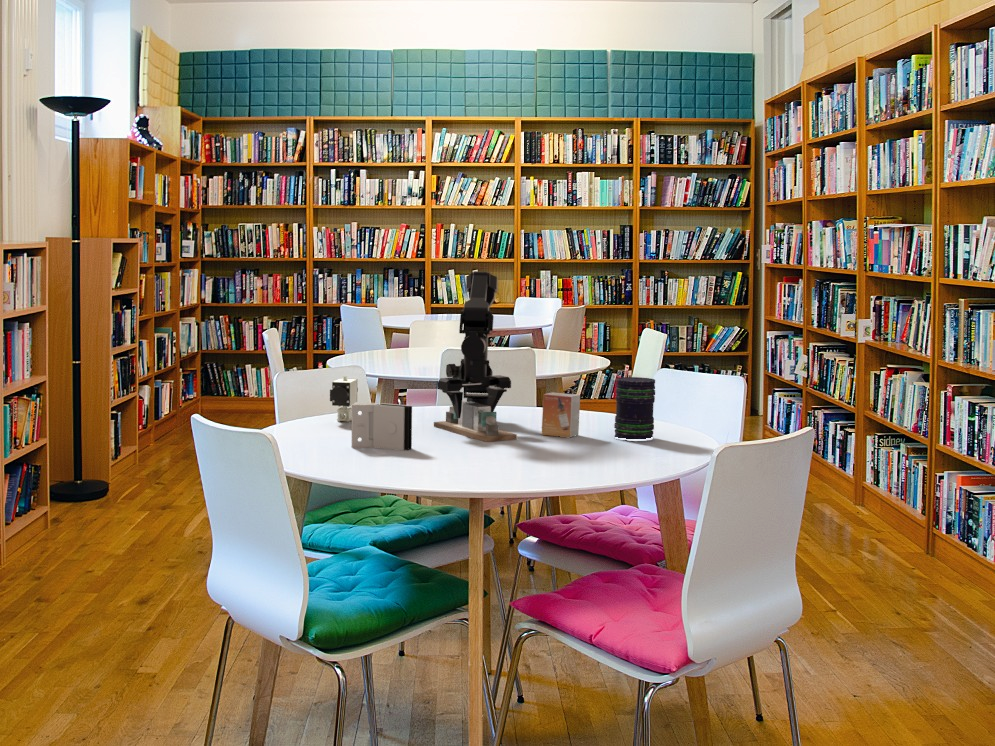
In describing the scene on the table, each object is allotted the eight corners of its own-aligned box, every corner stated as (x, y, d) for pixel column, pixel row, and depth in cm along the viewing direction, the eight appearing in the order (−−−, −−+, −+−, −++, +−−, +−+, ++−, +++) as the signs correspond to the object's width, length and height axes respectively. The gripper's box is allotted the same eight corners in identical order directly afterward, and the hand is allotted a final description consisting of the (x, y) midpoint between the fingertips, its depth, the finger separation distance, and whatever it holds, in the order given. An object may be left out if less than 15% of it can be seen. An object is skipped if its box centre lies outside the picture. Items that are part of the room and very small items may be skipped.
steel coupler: (491, 429, 268) (491, 406, 268) (477, 431, 266) (477, 407, 266) (470, 424, 277) (471, 401, 276) (457, 425, 275) (457, 402, 274)
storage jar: (652, 442, 262) (654, 382, 260) (612, 440, 264) (614, 380, 262) (654, 436, 272) (656, 378, 270) (615, 434, 274) (617, 376, 272)
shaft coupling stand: (463, 424, 285) (463, 400, 284) (516, 439, 263) (517, 413, 262) (433, 426, 280) (434, 402, 280) (485, 441, 258) (485, 416, 258)
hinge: (350, 448, 247) (350, 404, 246) (357, 444, 252) (357, 402, 251) (408, 450, 245) (409, 407, 244) (414, 447, 250) (415, 404, 249)
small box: (541, 435, 270) (542, 394, 269) (550, 432, 275) (551, 391, 274) (570, 438, 266) (571, 396, 265) (579, 435, 271) (580, 394, 270)
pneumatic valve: (358, 418, 292) (358, 374, 291) (348, 424, 281) (348, 379, 279) (338, 417, 293) (338, 373, 291) (327, 423, 281) (327, 378, 280)
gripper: (490, 351, 281) (488, 410, 283) (427, 354, 271) (426, 415, 273) (513, 355, 272) (511, 416, 274) (448, 358, 262) (447, 421, 264)
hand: (474, 417), depth 271 cm, fingers open, 9 cm apart
